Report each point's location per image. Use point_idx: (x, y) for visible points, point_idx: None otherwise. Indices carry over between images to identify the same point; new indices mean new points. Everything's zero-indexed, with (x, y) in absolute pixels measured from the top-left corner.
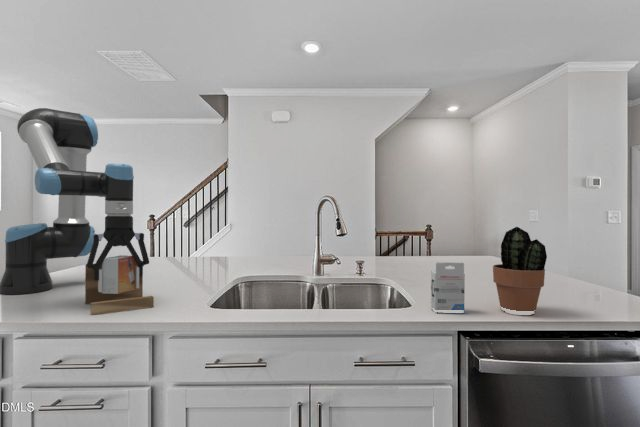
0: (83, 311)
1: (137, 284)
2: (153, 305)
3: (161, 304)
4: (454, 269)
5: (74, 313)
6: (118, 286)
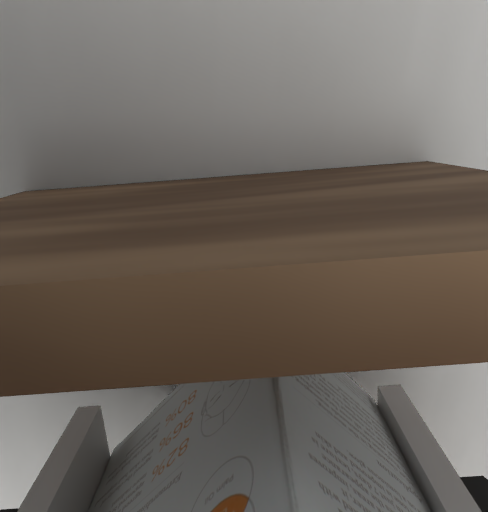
0: (44, 424)
1: None
2: None
3: (470, 457)
4: None
5: (2, 446)
6: None
